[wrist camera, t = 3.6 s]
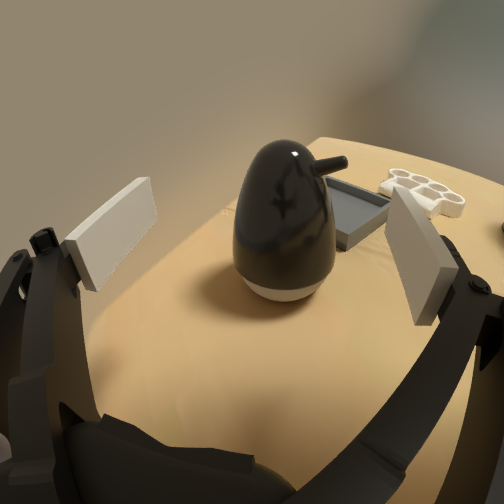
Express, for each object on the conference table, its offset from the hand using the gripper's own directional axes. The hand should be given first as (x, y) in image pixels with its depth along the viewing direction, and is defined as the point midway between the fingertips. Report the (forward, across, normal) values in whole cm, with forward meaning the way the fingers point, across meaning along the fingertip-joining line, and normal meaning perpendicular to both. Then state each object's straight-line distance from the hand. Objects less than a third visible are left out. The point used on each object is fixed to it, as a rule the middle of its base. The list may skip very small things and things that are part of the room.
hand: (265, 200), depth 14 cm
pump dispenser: (+10, 0, -14) cm, 18 cm away
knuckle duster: (+36, +25, -14) cm, 47 cm away
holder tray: (+27, +7, -14) cm, 31 cm away
